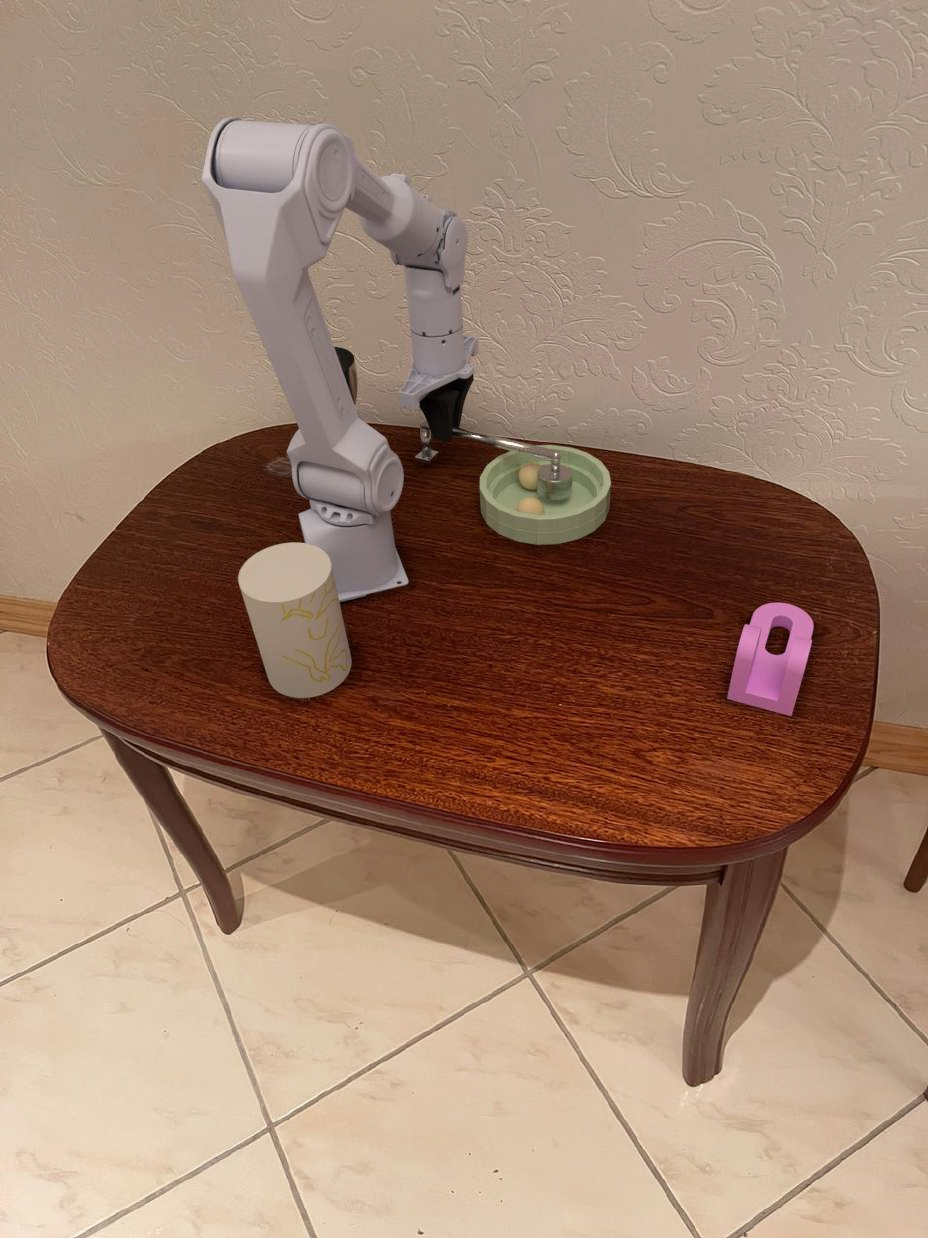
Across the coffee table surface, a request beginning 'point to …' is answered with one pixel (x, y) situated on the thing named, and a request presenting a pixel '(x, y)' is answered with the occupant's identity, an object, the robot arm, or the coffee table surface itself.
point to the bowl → (562, 515)
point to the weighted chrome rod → (550, 478)
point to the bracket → (771, 659)
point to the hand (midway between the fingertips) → (446, 435)
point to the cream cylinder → (296, 618)
